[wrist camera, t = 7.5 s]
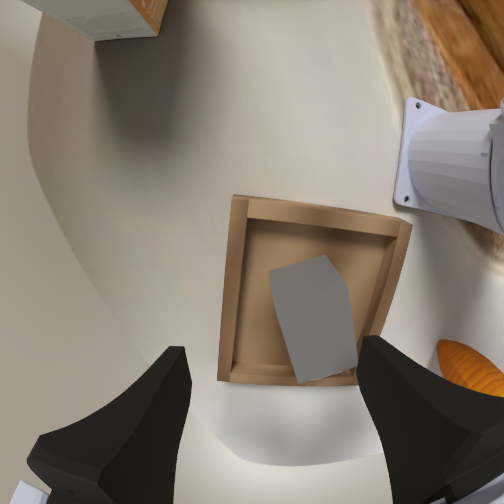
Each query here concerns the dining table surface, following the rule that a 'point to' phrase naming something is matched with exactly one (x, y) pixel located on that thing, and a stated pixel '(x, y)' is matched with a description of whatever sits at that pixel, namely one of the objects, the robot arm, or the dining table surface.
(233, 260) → the tray
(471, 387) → the carrot
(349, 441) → the dining table surface
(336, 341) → the gray block
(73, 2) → the small box
